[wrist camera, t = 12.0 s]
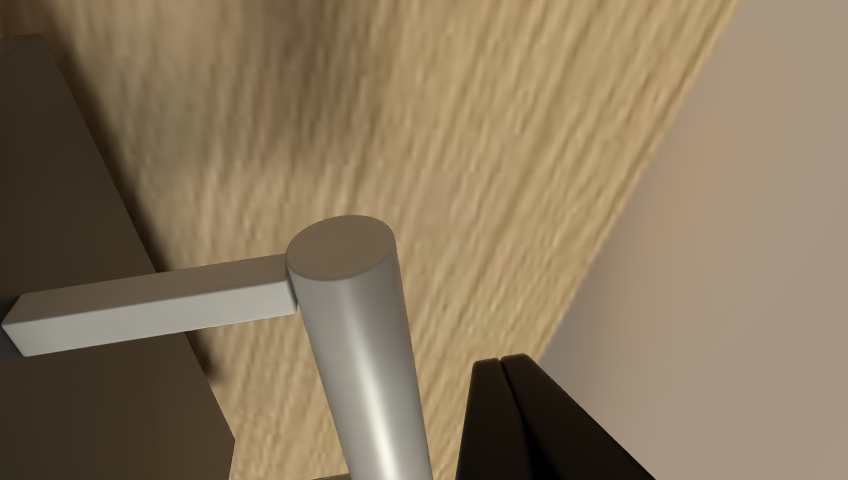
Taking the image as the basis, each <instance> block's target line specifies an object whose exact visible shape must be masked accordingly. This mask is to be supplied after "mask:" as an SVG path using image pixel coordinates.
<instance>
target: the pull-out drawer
mask: <svg viewBox="0 0 848 480" xmlns="http://www.w3.org/2000/svg"><path fill="white" fill-rule="evenodd" d="M297 302H298V304H299V307H300V311H301V314H302V317H303V321H304V324H305V327H306V331H307V334H308V337H309V340H310V344H311V347H312V350H313V354H314V357H315V360H316V364H317V367H318V370H319V374H320V377H321V380H322V384H323V387H324V390H325V394H326V397H327V400H328V403H329V407H330V410H331V413H332V417H333V420H334V423H335V427H336V430H337V433H338V437H339V440H340V443H341V447H342V450H343V453H344V457H345V460H346V463H347V466H348V470H349V473H348V474H342V475H336V476H330V477H324V478H319V479H313V480H433V476H432V470H431V463H430V457H429V451H428V444H427V438H426V432H425V425H424V419H423V413H422V406H421V400H420V394H419V387H418V381H417V375H416V368H415V362H414V356H413V349H412V343H411V337H410V330H409V324H408V318H407V311H406V305H405V299H404V292H403V286H402V280H401V273H400V267H399V261H398V255H397V248H396V242H395V237H394V234H393V232H392V230H391V229H390V228H389V227H388V226H387V225H386V224H385V223H384V222H382V221H380V220H378V219H375V218H372V217H368V216H361V215H345V216H338V217H333V218H329V219H325V220H322V221H319V222H317V223H315V224H313V225H311V226H309V227H307V228H305V229H304V230H302V231H301V232H300V233H298V234H297V235H296V236H295V237H294V238H293V240H292V241H291V242H290V244H289V246H288V248H287V251H286V253H285V254H278V255H272V256H265V257H259V258H252V259H246V260H239V261H233V262H226V263H220V264H214V265H207V266H201V267H194V268H188V269H181V270H175V271H168V272H162V273H156V271H155V269H154V267H153V265H152V263H151V261H150V259H149V257H148V255H147V252H146V250H145V248H144V246H143V244H142V242H141V240H140V238H139V236H138V233H137V231H136V229H135V227H134V225H133V223H132V221H131V219H130V216H129V214H128V212H127V210H126V208H125V206H124V204H123V202H122V200H121V197H120V195H119V193H118V191H117V189H116V187H115V185H114V183H113V181H112V178H111V176H110V174H109V172H108V170H107V168H106V166H105V164H104V162H103V159H102V157H101V155H100V153H99V151H98V149H97V147H96V145H95V142H94V140H93V138H92V136H91V134H90V132H89V130H88V128H87V126H86V123H85V121H84V119H83V117H82V115H81V113H80V111H79V109H78V107H77V104H76V102H75V100H74V98H73V96H72V94H71V92H70V90H69V88H68V85H67V83H66V81H65V79H64V77H63V75H62V73H61V71H60V68H59V66H58V64H57V62H56V60H55V58H54V56H53V54H52V52H51V49H50V47H49V45H48V43H47V41H46V39H45V37H44V36H43V35H41V34H29V35H22V36H14V37H7V38H0V480H228V479H229V474H230V468H231V462H232V456H233V450H234V444H235V439H234V436H233V434H232V432H231V430H230V428H229V426H228V424H227V422H226V419H225V417H224V415H223V413H222V411H221V409H220V407H219V405H218V403H217V400H216V398H215V396H214V394H213V392H212V390H211V388H210V386H209V384H208V381H207V379H206V377H205V375H204V373H203V371H202V369H201V367H200V365H199V362H198V360H197V358H196V356H195V354H194V352H193V350H192V348H191V345H190V343H189V341H188V339H187V337H186V335H185V333H184V331H190V330H196V329H202V328H208V327H215V326H221V325H227V324H233V323H240V322H246V321H252V320H259V319H265V318H271V317H277V316H284V315H290V314H294V313H296V311H297Z"/></svg>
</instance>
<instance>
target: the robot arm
mask: <svg viewBox="0 0 848 480" xmlns="http://www.w3.org/2000/svg"><path fill="white" fill-rule="evenodd" d="M455 480H656V479H654V477H653V476H652V475H650V474H649V473H648V472H647V471H646V470H645V469H644V468H643V467H642V466H641V465H640V464H639V463H638V462H637V461H636V460H635V459H634V458H633V457H632V456H631V455H630V454H629V453H628V452H627V451H626V450H625V449H624V448H623V447H622V446H621V445H620V444H618V443H617V441H615V440H614V439H613V438H612V437H611V436H610V435H609V434H608V433H607V432H606V431H605V430H604V429H603V428H602V427H601V426H600V425H599V424H598V423H597V422H596V421H595V420H594V419H593V418H592V417H591V416H590V415H589V414H587V412H586V411H585V410H584V409H582V408H581V407H580V406H579V405H578V404H577V403H576V402H575V401H574V400H573V399H572V398H571V397H570V396H569V395H568V394H567V393H566V392H565V391H564V390H563V389H562V388H561V387H560V386H559V385H558V384H557V383H556V382H555V381H554V380H552V379H551V378H550V376H548V375H547V374H546V373H545V372H544V371H543V370H542V369H541V368H540V367H539V366H538V365H537V364H536V363H535V362H534V361H533V360H532V359H531V358H530V357H529V356H528V355H526V354H516V355H510V356H504V357H502V358H501V359H500V360H499V359H497V358H492V359H486V360H480V361H476V362H475V363H474V364H473V369H472V375H471V381H470V388H469V394H468V401H467V407H466V414H465V420H464V426H463V433H462V439H461V446H460V452H459V459H458V465H457V471H456V478H455Z"/></svg>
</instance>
